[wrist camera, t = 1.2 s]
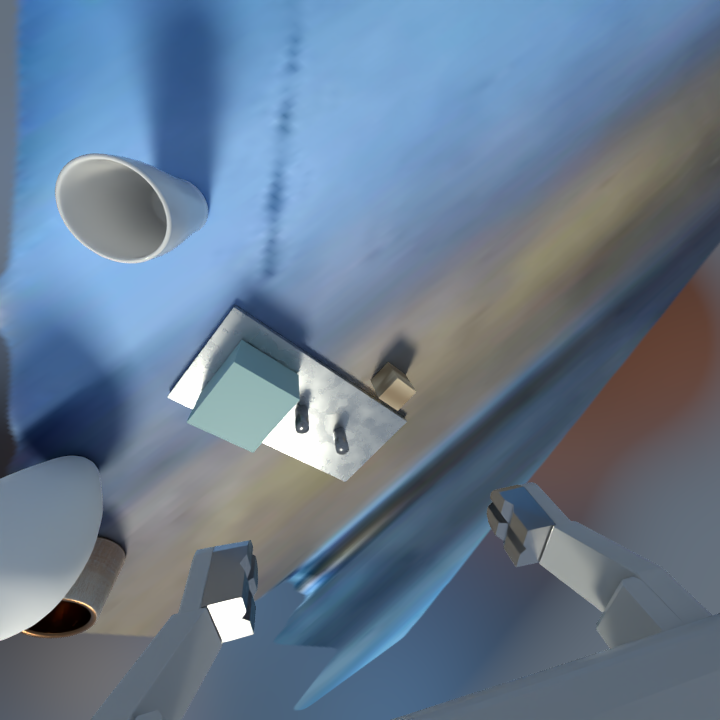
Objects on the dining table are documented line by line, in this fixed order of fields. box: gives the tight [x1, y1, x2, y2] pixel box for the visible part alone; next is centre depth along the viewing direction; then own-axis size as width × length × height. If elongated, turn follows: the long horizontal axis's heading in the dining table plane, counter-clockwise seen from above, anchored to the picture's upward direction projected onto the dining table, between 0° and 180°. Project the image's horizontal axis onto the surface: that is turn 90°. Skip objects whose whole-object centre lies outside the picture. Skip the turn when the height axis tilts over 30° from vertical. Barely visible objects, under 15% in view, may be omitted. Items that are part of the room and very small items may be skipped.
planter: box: [19, 536, 125, 638], centre depth 49 cm, size 11×11×10 cm
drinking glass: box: [55, 154, 208, 263], centre depth 27 cm, size 7×7×15 cm
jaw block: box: [371, 362, 416, 411], centre depth 47 cm, size 4×4×5 cm
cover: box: [187, 340, 300, 452], centre depth 41 cm, size 10×9×6 cm
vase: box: [0, 456, 103, 641], centre depth 33 cm, size 14×14×28 cm
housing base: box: [168, 305, 407, 482], centre depth 46 cm, size 16×32×5 cm, turn 48°
